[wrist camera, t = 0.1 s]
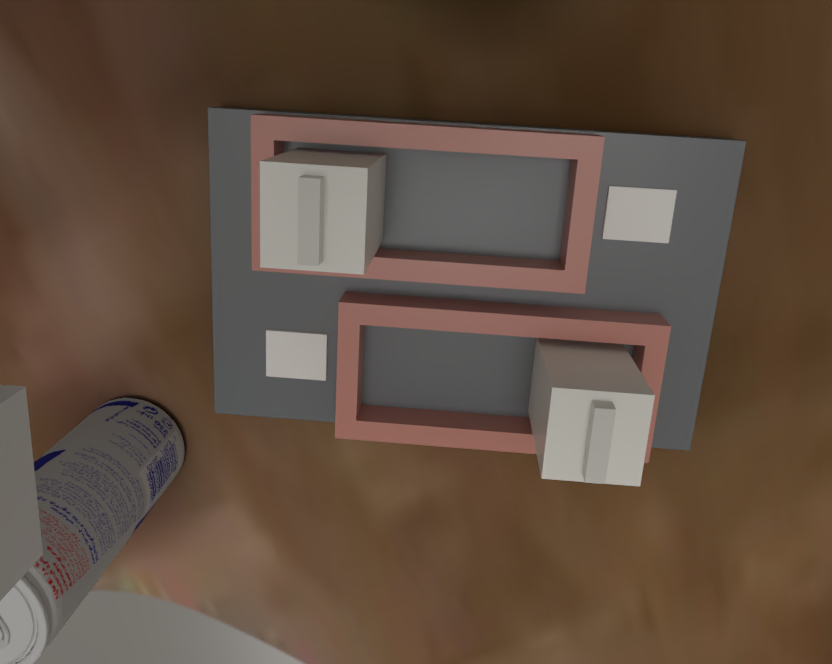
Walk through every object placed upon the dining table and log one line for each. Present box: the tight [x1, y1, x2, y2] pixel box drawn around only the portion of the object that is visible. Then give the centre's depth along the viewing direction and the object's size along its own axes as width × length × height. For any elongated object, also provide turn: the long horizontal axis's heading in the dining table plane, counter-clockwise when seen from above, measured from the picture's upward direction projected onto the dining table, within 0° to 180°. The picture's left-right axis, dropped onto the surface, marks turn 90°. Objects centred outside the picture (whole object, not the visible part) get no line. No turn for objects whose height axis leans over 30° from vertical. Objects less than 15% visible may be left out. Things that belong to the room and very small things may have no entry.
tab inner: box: [260, 148, 387, 275], centre depth 32 cm, size 4×4×8 cm
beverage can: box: [0, 398, 185, 664], centre depth 35 cm, size 6×6×15 cm
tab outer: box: [528, 338, 655, 486], centre depth 34 cm, size 4×4×8 cm
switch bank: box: [208, 107, 746, 463], centre depth 37 cm, size 15×24×4 cm, turn 87°
